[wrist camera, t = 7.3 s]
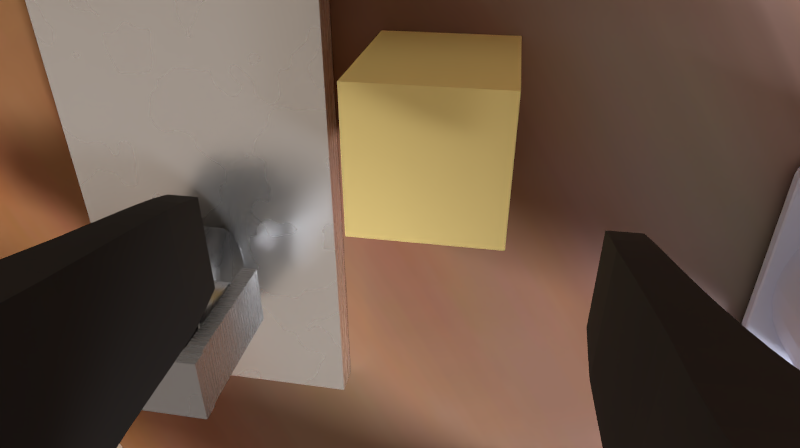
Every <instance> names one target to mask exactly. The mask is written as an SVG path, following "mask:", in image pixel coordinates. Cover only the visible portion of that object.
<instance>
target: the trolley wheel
mask: <svg viewBox="0 0 800 448" xmlns="http://www.w3.org/2000/svg"><path fill="white" fill-rule="evenodd" d="M25 2H26V6H27V9H28V12H29V16H30V19H31V22H32V26H33V29H34V33H35V36H36V39H37V43H38V46H39V50H40V53H41V56H42V60H43V63H44V66H45V70H46V73H47V77H48V80H49V83H50V87H51V90H52V94H53V97H54V100H55V104H56V107H57V110H58V114H59V117H60V121H61V124H62V127H63V131H64V134H65V138H66V141H67V144H68V148H69V151H70V154H71V158H72V161H73V165H74V168H75V171H76V175H77V178H78V182H79V185H80V188H81V192H82V195H83V198H84V202H85V205H86V209H87V212H88V215H89V219H90V222H91V223H93V222H95V221H97V220H100V219H102V218H104V217H107V216H109V215H112V214H114V213H116V212H119V211H121V210H124V209H126V208H129V207H131V206H134V205H136V204H139V203H142V202H144V201H147V200H150V199H153V198H156V197H160V196H163V195H167V194H168V195H180V196H192V197H198V200H199V206H200V211H201V216H202V221H203V227H204V232H205V237H206V242H207V248H208V253H209V258H210V263H211V269H212V274H213V279H214V285H215V290H214V292H213V294H212V296H211V299H210V301H209V303H208V305H207V307H206V310H205V312H204V314H203V316H202V318H201V320H200V322H199V324H198V326H197V328H196V330H195V332H194V333H193V335H192V336H191V338H190V340H189V341H188V343H187V344H186V346H185V347H184V349H183V350H182V352H181V353H180V355H179V356H178V358H177V359H176V361H175V362H174V364H173V365H172V367H171V368H170V369H169V371H168V372H167V374H166V375H165V377H164V378H163V380H162V381H161V383H160V384H159V385H158V387H157V388H156V390H155V391H154V393H153V394H152V396H151V397H150V399H149V400H148V401H147V403H146V404H145V406H144V407H143V409H142V410H145V411H152V412H159V413H166V414H173V415H180V416H187V417H194V418H201V419H208V417H209V416H210V414H211V412H212V410H213V409H214V407H215V402H216V400H217V399H218V397H219V395H220V393H221V392H222V390H223V388H224V387H225V385H226V383H227V381H228V380H229V378H230V376H231V375H234V376H241V377H249V378H257V379H265V380H272V381H280V382H288V383H295V384H303V385H311V386H319V387H326V388H334V389H342V390H344V389H345V386H346V383H347V380H348V378H349V375H350V355H349V337H348V320H347V303H346V285H345V268H344V250H343V233H342V215H341V198H340V180H339V163H338V145H337V128H336V111H335V93H334V76H333V58H332V41H331V23H330V6H329V0H25Z"/></svg>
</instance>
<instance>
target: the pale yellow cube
mask: <svg viewBox="0 0 800 448" xmlns="http://www.w3.org/2000/svg"><path fill="white" fill-rule="evenodd" d="M521 48H522V36H510V35H485V34H460V33H435V32H410V31H385V30H381V32H380V33H379V34H378V35H377V36H376V37H375V38H374V40H373V41H372V42H371V43H370V44H369V45H368V46H367V48H366V49H365V50H364V51H363V52H362V53H361V54H360V56H359V57H358V58H357V59H356V60H355V61H354V62H353V64H352V65H351V66H350V67H349V68H348V69H347V70H346V72H345V73H344V74H343V75H342V76H341V77H340V79H339V80H338V81H337V90H338V109H339V128H340V147H341V165H342V184H343V203H344V222H345V236H349V237H360V238H370V239H381V240H392V241H403V242H414V243H425V244H436V245H447V246H458V247H469V248H479V249H490V250H501V251H505V243H506V233H507V223H508V214H509V204H510V194H511V184H512V174H513V164H514V155H515V145H516V135H517V125H518V115H519V105H520V96H521Z"/></svg>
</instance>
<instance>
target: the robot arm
mask: <svg viewBox="0 0 800 448" xmlns="http://www.w3.org/2000/svg"><path fill="white" fill-rule="evenodd" d="M214 290H215V285H214V279H213V274H212V269H211V263H210V258H209V253H208V248H207V242H206V237H205V232H204V227H203V221H202V216H201V211H200V206H199V200H198V197H192V196H180V195H168V194H167V195H163V196H160V197H156V198H153V199H150V200H147V201H144V202H142V203H139V204H136V205H134V206H131V207H129V208H126V209H124V210H121V211H119V212H116V213H114V214H112V215H109V216H107V217H104V218H102V219H100V220H97V221H95V222H93V223H90V224H88V225H85V226H83V227H81V228H78V229H76V230H74V231H71V232H69V233H66V234H64V235H62V236H59V237H57V238H54V239H52V240H49V241H47V242H44V243H41V244H39V245H36V246H34V247H31V248H29V249H26V250H23V251H21V252H18V253H16V254H13V255H11V256H8V257H5V258H3V259H0V448H117V447H118V445H119V443H120V442H121V440H122V439H123V437H124V435H125V434H126V432H127V431H128V429H129V428H130V426H131V425H132V423H133V422H134V420H135V419H136V417H137V416H138V415H139V413H140V412H141V410H142V409H143V407H144V406H145V404H146V403H147V401H148V400H149V399H150V397H151V396H152V394H153V393H154V391H155V390H156V388H157V387H158V385H159V384H160V383H161V381H162V380H163V378H164V377H165V375H166V374H167V372H168V371H169V369H170V368H171V367H172V365H173V364H174V362H175V361H176V359H177V358H178V356H179V355H180V353H181V352H182V350H183V349H184V347H185V346H186V344H187V343H188V341H189V340H190V338H191V336H192V335H193V333H194V332H195V330H196V328H197V326H198V324H199V322H200V320H201V318H202V316H203V314H204V312H205V310H206V307H207V305H208V303H209V301H210V299H211V296H212V294H213V292H214ZM587 342H588V361H589V376H590V383H591V389H592V394H593V400H594V405H595V410H596V415H597V421H598V426H599V431H600V436H601V441H602V446H603V448H800V167H799V168H798V170H797V171H796V173H795V175H794V178H793V180H792V183H791V186H790V189H789V192H788V194H787V197H786V200H785V203H784V206H783V208H782V211H781V214H780V217H779V220H778V223H777V225H776V228H775V231H774V234H773V237H772V239H771V242H770V245H769V248H768V251H767V253H766V256H765V259H764V262H763V265H762V268H761V270H760V273H759V276H758V279H757V282H756V284H755V287H754V290H753V293H752V296H751V299H750V301H749V304H748V307H747V310H746V313H745V315H744V318H743V321H742V324H740V323H739V322H738V321H737V320H735V319H734V318H733V317H732V316H731V315H730V314H729V313H727V312H726V311H725V310H724V309H723V308H722V307H721V306H720V305H718V304H717V303H716V302H715V301H714V300H713V299H712V298H711V297H710V296H709V295H708V294H706V293H705V292H704V291H703V290H702V289H701V288H700V287H699V286H698V285H697V284H696V283H695V282H694V281H693V280H692V279H691V278H690V277H689V276H688V275H686V274H685V273H684V272H683V271H682V270H681V269H680V268H679V267H678V266H677V265H676V264H675V263H674V262H673V261H672V260H671V259H670V258H669V257H668V256H667V255H666V254H665V253H664V252H663V251H662V250H661V249H660V248H659V247H658V246H657V245H656V244H655V243H654V242H653V241H652V240H651V239H650V238H648V237H647V236H646V235H645V234H641V233H629V232H617V231H605V236H604V241H603V247H602V252H601V257H600V262H599V267H598V272H597V277H596V283H595V288H594V293H593V298H592V303H591V308H590V313H589V319H588V324H587Z"/></svg>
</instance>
